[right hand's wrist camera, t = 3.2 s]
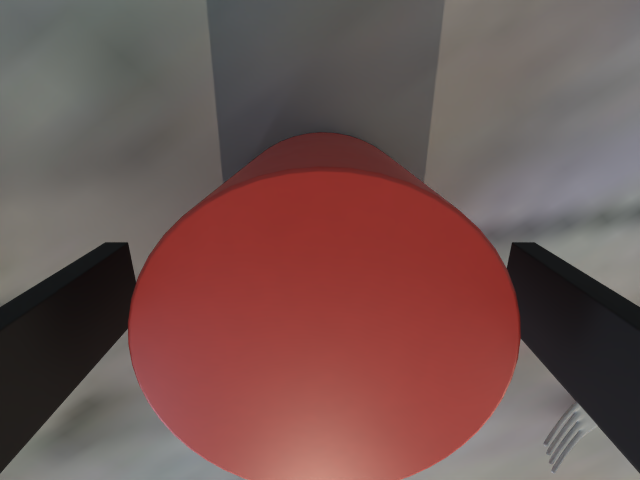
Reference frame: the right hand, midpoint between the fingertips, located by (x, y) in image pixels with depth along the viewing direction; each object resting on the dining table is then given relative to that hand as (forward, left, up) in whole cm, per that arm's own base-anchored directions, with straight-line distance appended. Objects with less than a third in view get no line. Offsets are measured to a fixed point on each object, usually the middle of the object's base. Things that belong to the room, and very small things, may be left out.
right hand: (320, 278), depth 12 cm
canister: (0, 0, -4) cm, 4 cm away
